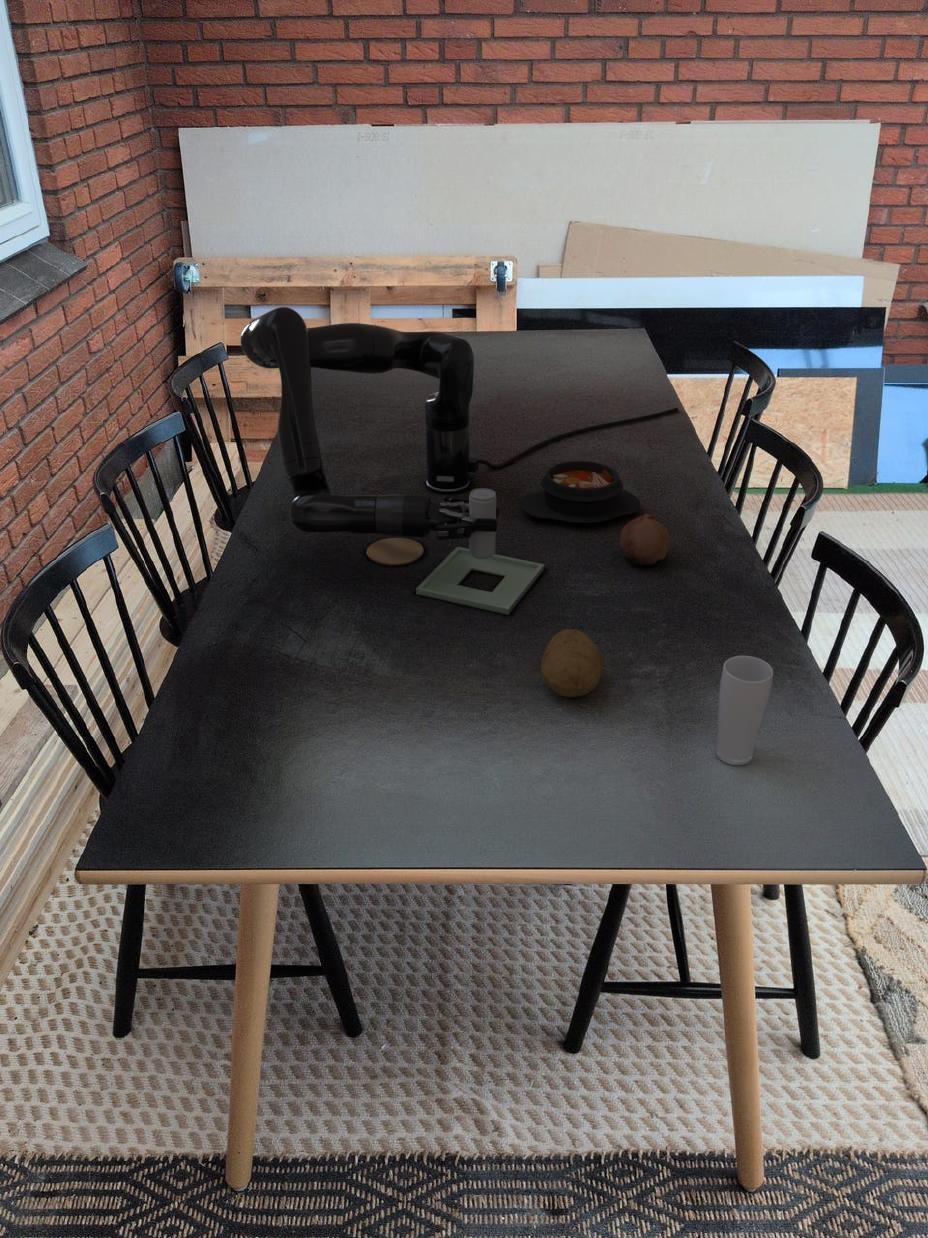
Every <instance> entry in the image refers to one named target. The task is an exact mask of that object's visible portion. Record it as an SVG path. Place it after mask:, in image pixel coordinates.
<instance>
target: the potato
mask: <svg viewBox="0 0 928 1238" xmlns="http://www.w3.org/2000/svg"><path fill="white" fill-rule="evenodd" d="M540 664H541V665H540V672H541V677H542V680H543V682H544V683H545V684H546V686H548V687H549V689H551V690H552V691H553V692H554V693H556V694H557V695H559V696H561V697H566V698H579V697H582V696H584V695H587V694H589V693H591V692H593V691H594V690H595V688H596V687H597V685H598V683H599V681H600V679H601V677H602V673H603V670H604V658H603V654H602V652H601V650H600V648H599V647H598V646H597V645H596V644H595V643H594V642H593V640H592V639H591V637H589V636H588V635H587V634H586V633H585V632H583V631H581V630H578V629H575V628H568V629H567V628H564V629H563V630H561V631H559V632H557V633H556V634H555V635H553V636H552V637H551V640H550V641H549V643H548V644H547V646H546V648H545V651H544V653H543V656H542V659H541V663H540Z"/></svg>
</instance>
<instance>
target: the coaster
mask: <svg viewBox="0 0 928 1238" xmlns="http://www.w3.org/2000/svg"><path fill="white" fill-rule="evenodd" d="M366 555H367V557H368V559H369V560H371V561H372V562H374V563H376V564H379V565H384V566H404V565H409V564H412V563H414V562H416V561H418V560H420V559H421V558H422V557H423V556H424V547H423V545H422V544H421V543H420V542H418V541H416V540H414V539H412V538H406V537H388V538H387V537H386V538H383V539H379V540H377V541H374V542H373V543H371V544H370V545H369V546H368V547H367V549H366Z"/></svg>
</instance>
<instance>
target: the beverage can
mask: <svg viewBox="0 0 928 1238" xmlns="http://www.w3.org/2000/svg"><path fill="white" fill-rule="evenodd" d="M469 492H470V493H469V496H468V498H469V517H470V518H474V519H475V521H476V518H481V519H496V520H497V518H496V506H497V494H496V491H495V490H493V489H491V488H486V487H485V488H484V487H480V488H474V489H472V490H471V491H469ZM496 533H497V531H496V532H484V531H475V533H472V534H471V537H470V538H468V549H469V552H470V554H471V555H472V556H473V557H475V558H479V559H486V558H490V557H491V556H493V555H494V554H496V542H497V541H496V539H497V538H496V537H497V534H496Z"/></svg>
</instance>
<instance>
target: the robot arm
mask: <svg viewBox="0 0 928 1238" xmlns="http://www.w3.org/2000/svg"><path fill="white" fill-rule="evenodd" d="M240 346H241V350H242V352H243V354H244V355H245V356H246V358H247V359H248V360H249V361H250V362H252V363H253V364H254V365H256V366H258V367H260V368H264V369H268V370H274V369H275V370H276V369H278V371H279V375H280V384H281V388H280V389H281V390H280V391H281V393H280V394H281V395H280V405H279V413H278V421H277V441H278V442H277V443H278V449H279V453H280V458H281V463H282V469H283V471H284V475H285V477H286V478H287V479H288V481H289V483H290V485H291V490H292V494H293V500H292V501H291V503H290V506H289V509H288V516H289V520H290V521H291V523H292V524H293V525H294V527H295V528H297V529H298V530H300V531H302V532H305V533H341V532H344V533H345V532H346V533H353V534H361V535H362V534H364V535H381V536H389V537H404V538H406V537H408V538H409V537H410V538H427V537H428V536H429V535H430V531H433V532H436V539H437V540H438V541H449V540H460V539H469V538H470V537H471V534H472V533H475V531H484V532H496V533H497V531H498V519H497V518H499V515H500V513H499V512H500V511H499V509H500V508H499V506H498V505H496V519H481V518H476V521H475V519H474V518H470V517H469V497H467V496H466V497H465V496H459V495H451V494H454V493H459V492H462V491H465V490H467V489H468V488H469V486H470V473H472V474H475V473H476V472H477V471H478V470H480V464H482V465H485V466H487V467H488V468H490V469H494V470H496V469H502V468H504V467H505V468H506V467H507V466H508V465H510V464H511V463H513V462H515V461H517V460H518V459H521V458H522V457H524V456H526V455H528V454H529V453H531V452H532V451H535V450H536V449H539V448H541V447H543V446H545V445H547V444H550V443H552V442H553V443H554V442H555V441H558V440H560V439H564V438H567V437H570V436H574V435H578V434H581V433H585V432H589V431H594V430H598V429H604V428H608V427H613V426H618V425H619V426H620V425H623V424H629V423H634V422H640V421H645V420H649V419H654V418H657V417H662V416H666V415H669V414H672V413H677V412H679V408H678V407H675V408H671V409H667V410H664V411H660V412H656V413H652V414H647V415H642V416H637V417H632V418H627V419H622V420H615V421H611V422H606V423H601V424H596V425H591V426H587V427H583V428H579V429H578V428H577V429H573V430H571V431H568V432H564V433H561V434H557V435H556V436H552V437H550V438H547V439H545V440H542V441H540V442H538V443H535V444H534V445H532V446H530V447H528V448H527V449H525V450H523V451H521V452H520V453H517V454H516V455H514V456H512V457H511V458H509V459H507V460H506V461H504V462H502V463H500V464H499V463H498V464H493V463H491V462H489V461H488V460H486V459H480V458H477V457H470V403H471V400H472V397H473V393H474V392H473V391H474V390H473V389H474V375H475V374H474V373H475V354H474V349H473V346H472V345H471V343H470V342H469V340H467V339H465V338H463V337H460V336H457V335H453V334H451V333H447V332H444V331H401V330H397V329H394V328H391V327H387V326H383V325H376V324H369V323H362V322H361V323H360V322H343V323H335V324H328V325H322V326H316V327H308V326H307V323H306V322H305V320H304V318H303V316H302V315H300V313H299V312H297V311H296V310H295V309H293V308H291V307H288V306H280V307H277V308H273V309H271V310H269V311H267V312H266V313H263V314H262V315H260V316H258V317H256V318H254V319H252V320H251V321H250V322H249V323H248V324H247V325H246V326H245V327H244V329H242V333H241V336H240ZM312 368H313V369H314V368H315V369H322V370H330V371H338V372H339V371H341V372H350V373H357V374H368V375H369V374H371V375H373V374H374V375H375V374H383V373H387V372H391V371H392V370H396V369H402V370H404V369H405V370H409V371H414V372H419V373H422V374H425V375H427V376H429V377H431V378H432V377H433V378H435V379H438V380H439V381H438V391H435V392H433V393H430V394H428V395H427V396H426V398H425V402H424V403H425V404H424V405H425V406H424V407H425V408H424V409H425V444H426V445H425V446H426V447H425V448H426V487H427V488H428V489H429V490H431V491H433V492H436V493H441V494H444V495H443V500H442V501H439V502H431V498H430V496H429V495H428V494H403V493H402V494H400V493H398V494H397V493H387V494H350V495H346V494H345V495H344V494H343V495H342V494H333V493H331V490H330V487H329V483H328V480H327V477H326V475H325V472H324V471H325V470H324V466H323V460H322V453H321V448H320V444H319V439H318V433H317V428H316V421H315V415H314V414H315V413H314V405H313V404H314V403H313V402H314V401H313V385H312V383H313V381H312Z"/></svg>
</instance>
